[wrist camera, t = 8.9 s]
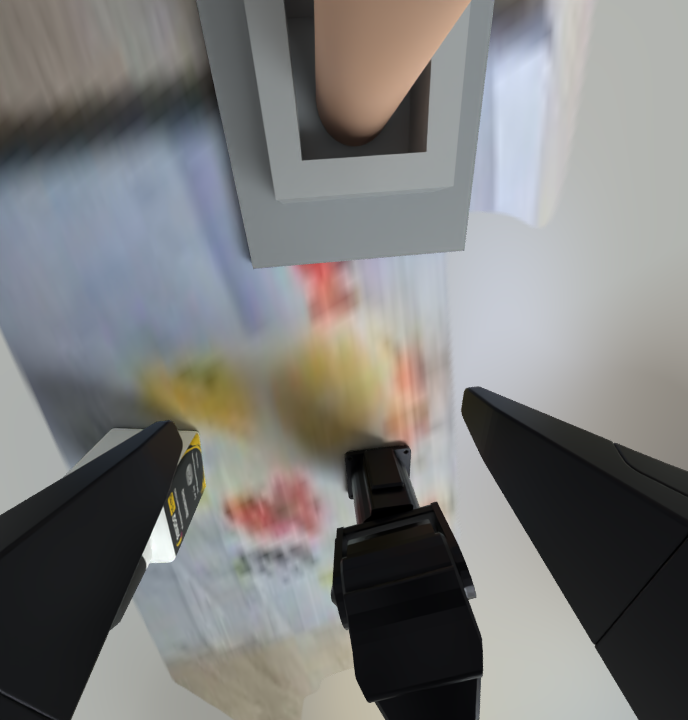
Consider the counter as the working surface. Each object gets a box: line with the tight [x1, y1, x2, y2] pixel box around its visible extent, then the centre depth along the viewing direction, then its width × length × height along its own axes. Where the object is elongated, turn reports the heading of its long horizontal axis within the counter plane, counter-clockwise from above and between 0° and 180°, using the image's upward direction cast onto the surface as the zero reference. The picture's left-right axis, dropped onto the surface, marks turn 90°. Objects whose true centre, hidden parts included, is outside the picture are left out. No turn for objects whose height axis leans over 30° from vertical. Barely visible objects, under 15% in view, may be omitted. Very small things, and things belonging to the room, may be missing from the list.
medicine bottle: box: [64, 428, 206, 630], centre depth 20 cm, size 7×7×12 cm
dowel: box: [314, 0, 471, 146], centre depth 9 cm, size 4×4×12 cm
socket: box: [196, 0, 494, 269], centre depth 13 cm, size 16×14×4 cm
